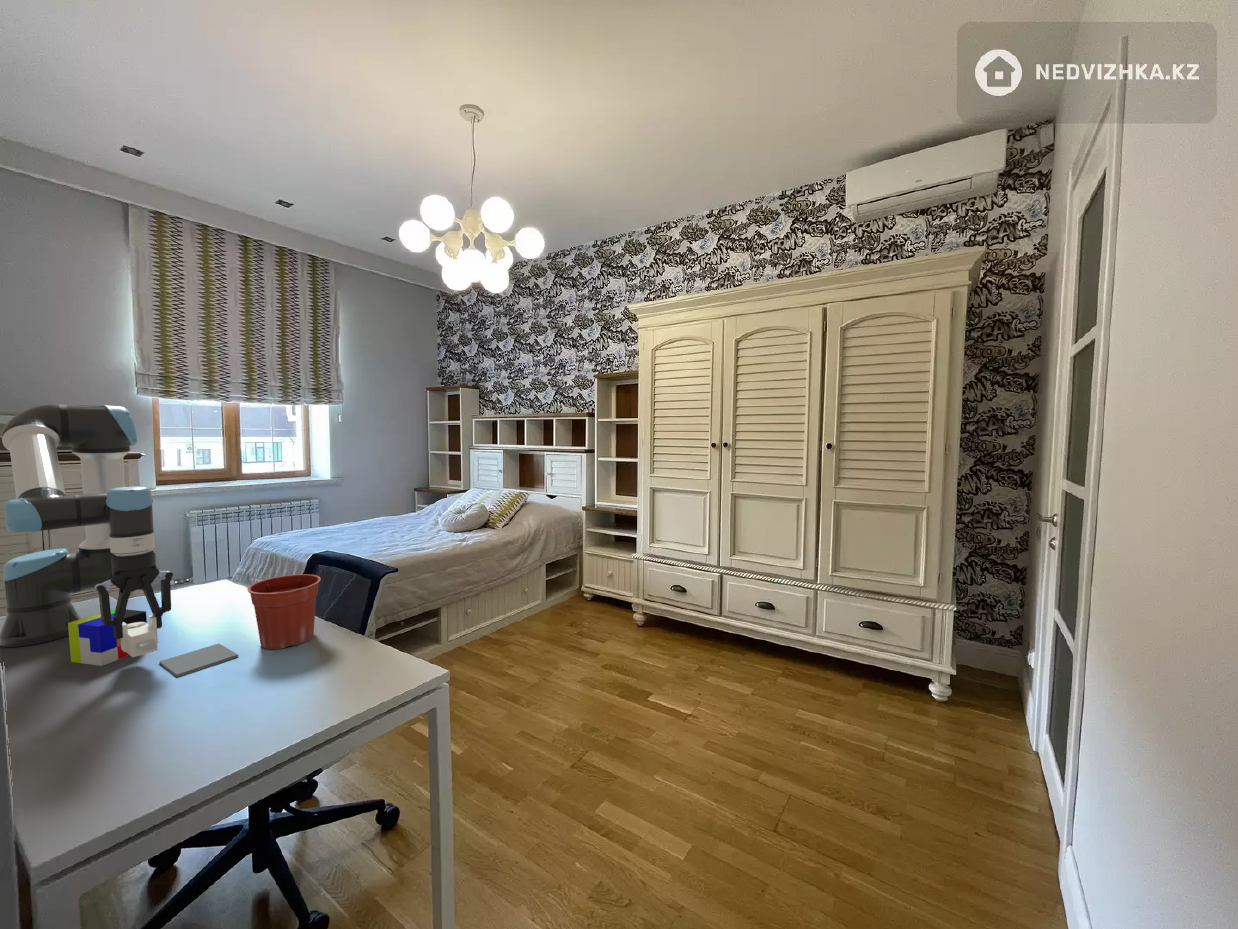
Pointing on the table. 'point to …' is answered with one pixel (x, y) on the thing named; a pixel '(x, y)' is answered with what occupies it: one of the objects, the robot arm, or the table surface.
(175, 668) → the coaster
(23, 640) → the robot arm
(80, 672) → the table surface
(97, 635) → the puzzle toy
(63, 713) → the table surface
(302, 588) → the flower pot
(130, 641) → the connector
